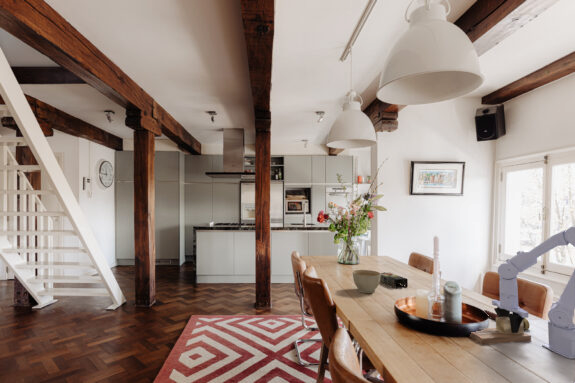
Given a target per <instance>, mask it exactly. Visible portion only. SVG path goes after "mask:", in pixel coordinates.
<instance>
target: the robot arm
mask: <svg viewBox="0 0 575 383" xmlns="http://www.w3.org/2000/svg"><path fill="white" fill-rule="evenodd" d="M569 244H570V245H571V246H573V247H574V248H575V225H572V226H569V228H567V229H563V230H561V231H559V232H557V233H555V234H553V235H551V236H550V237H549V238H547V239H546V240H544V241H543V242H541V243H540V244H539V245H537V246H535V247H534V248H533V249H531V250H522V251H521V250H518V251H517V252H516V254H515V255H514V256H512V257H511V258H507V259H505V262H503V263H501V264H500V265H499V266H498V267H497V274H498V275H499V281H498V282H499V284H498V285H499V300H497V299H492V300H491V305H493V306H496V307H494V311H495V314H497V315H498V317H509V319H510V324H511V331H512V333H518V331H519V327H520V325H521V323H522V321H523V320H524V318H526V319H527V318H529V311H527V310H524V309H523V308H521V307H520V306H519V296H518V295H519V292H518V288H519V287H518V277H517V276H518V274H519V273H523V272H524V271H526V270H528V269H529V268H531V267H532V266H534V265H536V264H537V263H538V258H539V257H541V256H543V255H545V254H546V253H548V252H550V251H551V250H554V249H556V247H561V246H568V245H569ZM547 317H548V320H547V329H548V330H547V331H548V332H547V333H548V334H547V335H548V343H545V344H543V343H542V344H541V346H542V347H544V348H545V349H548V350H550V351H551V352H554V353H555V354H559V355H560V356H563V357H564V358H566V359H575V323H574V321H573V318H574V317H575V269H574V270H573V272H572V274H571V276H570V277H569V280H568V281H567V283H566V285H565V287H564V289H563V291H562V293H561V295H560V297H559V299H557V301H556V302H554V303H553V304H552V305H551V306H550V309H549V311H548V313H547Z"/></svg>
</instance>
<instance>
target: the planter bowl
mask: <svg viewBox="0 0 575 383" xmlns="http://www.w3.org/2000/svg"><path fill="white" fill-rule="evenodd" d="M381 273H382V272H379V271H376V270H370V269H357V270H353V271H352V278H353V283H354V284H355V286H356V288H357V290H358V292H360V293H362V294H363V293H364V294H374V293H375V291H376V290H377V288H378V287H379V285H380V283H381V282H380V276H381ZM373 292H374V293H373Z"/></svg>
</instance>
